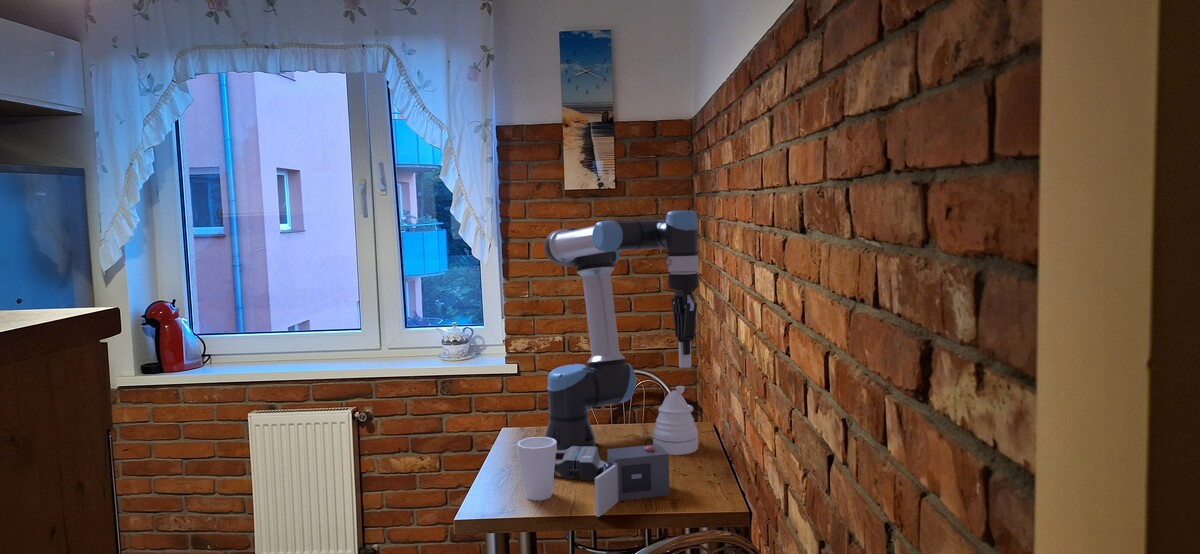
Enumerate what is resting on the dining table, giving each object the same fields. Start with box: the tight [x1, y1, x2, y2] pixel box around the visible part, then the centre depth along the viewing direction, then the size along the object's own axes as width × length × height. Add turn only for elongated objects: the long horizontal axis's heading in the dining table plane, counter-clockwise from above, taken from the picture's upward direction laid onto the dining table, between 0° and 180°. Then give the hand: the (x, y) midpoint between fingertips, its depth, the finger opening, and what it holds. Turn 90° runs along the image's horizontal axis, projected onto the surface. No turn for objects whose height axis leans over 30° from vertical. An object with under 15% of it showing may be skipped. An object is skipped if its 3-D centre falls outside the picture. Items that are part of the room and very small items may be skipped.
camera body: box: [603, 444, 670, 502], centre depth 174 cm, size 8×15×11 cm, turn 102°
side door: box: [594, 463, 620, 518], centre depth 164 cm, size 1×10×9 cm, turn 153°
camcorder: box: [554, 445, 608, 481], centre depth 191 cm, size 16×20×5 cm
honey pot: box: [652, 385, 699, 456], centre depth 209 cm, size 13×13×18 cm
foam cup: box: [516, 436, 557, 501], centre depth 175 cm, size 10×9×13 cm
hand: (685, 366), depth 182 cm, fingers closed
